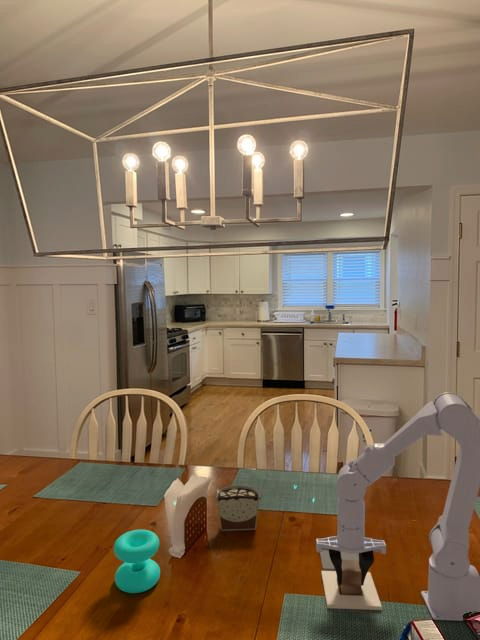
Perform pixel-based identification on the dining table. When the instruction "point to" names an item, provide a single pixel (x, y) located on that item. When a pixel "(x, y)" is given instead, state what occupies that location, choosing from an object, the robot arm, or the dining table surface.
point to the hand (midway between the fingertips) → (350, 582)
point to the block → (351, 578)
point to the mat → (327, 561)
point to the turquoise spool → (137, 561)
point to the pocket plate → (349, 601)
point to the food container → (238, 507)
